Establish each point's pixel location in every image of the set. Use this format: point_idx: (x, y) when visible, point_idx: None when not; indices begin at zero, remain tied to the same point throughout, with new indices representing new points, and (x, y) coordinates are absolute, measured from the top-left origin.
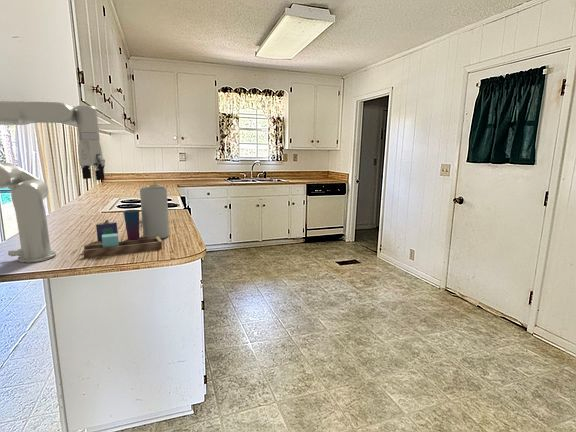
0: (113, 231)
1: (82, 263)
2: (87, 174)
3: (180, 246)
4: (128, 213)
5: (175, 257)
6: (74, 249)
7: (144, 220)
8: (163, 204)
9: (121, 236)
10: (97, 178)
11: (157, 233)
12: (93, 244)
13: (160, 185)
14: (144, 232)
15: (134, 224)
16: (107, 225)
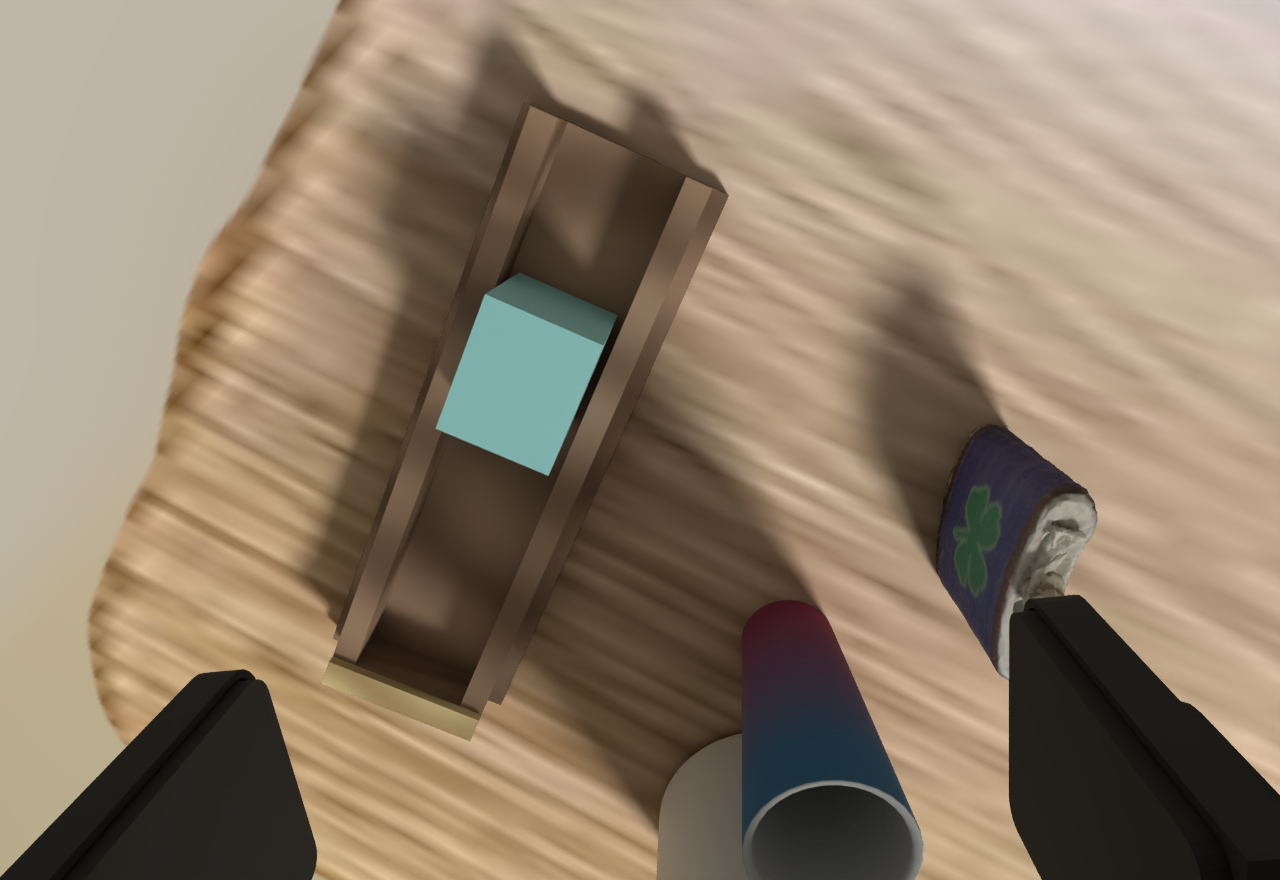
0: (966, 587)
1: (464, 64)
2: (1071, 823)
3: (361, 767)
4: (777, 785)
5: (133, 605)
6: (952, 182)
7: None
8: None
9: None
10: (180, 717)
11: (667, 811)
12: (677, 264)
13: None
14: None
15: (744, 734)
16: (1002, 574)
